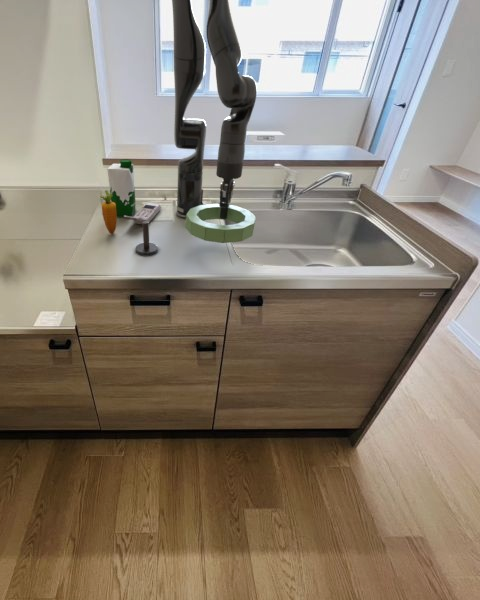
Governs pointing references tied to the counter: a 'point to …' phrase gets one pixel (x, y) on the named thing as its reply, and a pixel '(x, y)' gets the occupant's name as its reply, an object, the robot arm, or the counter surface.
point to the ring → (220, 232)
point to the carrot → (109, 213)
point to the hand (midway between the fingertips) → (224, 216)
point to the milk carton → (122, 187)
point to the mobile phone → (145, 213)
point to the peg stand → (146, 243)
